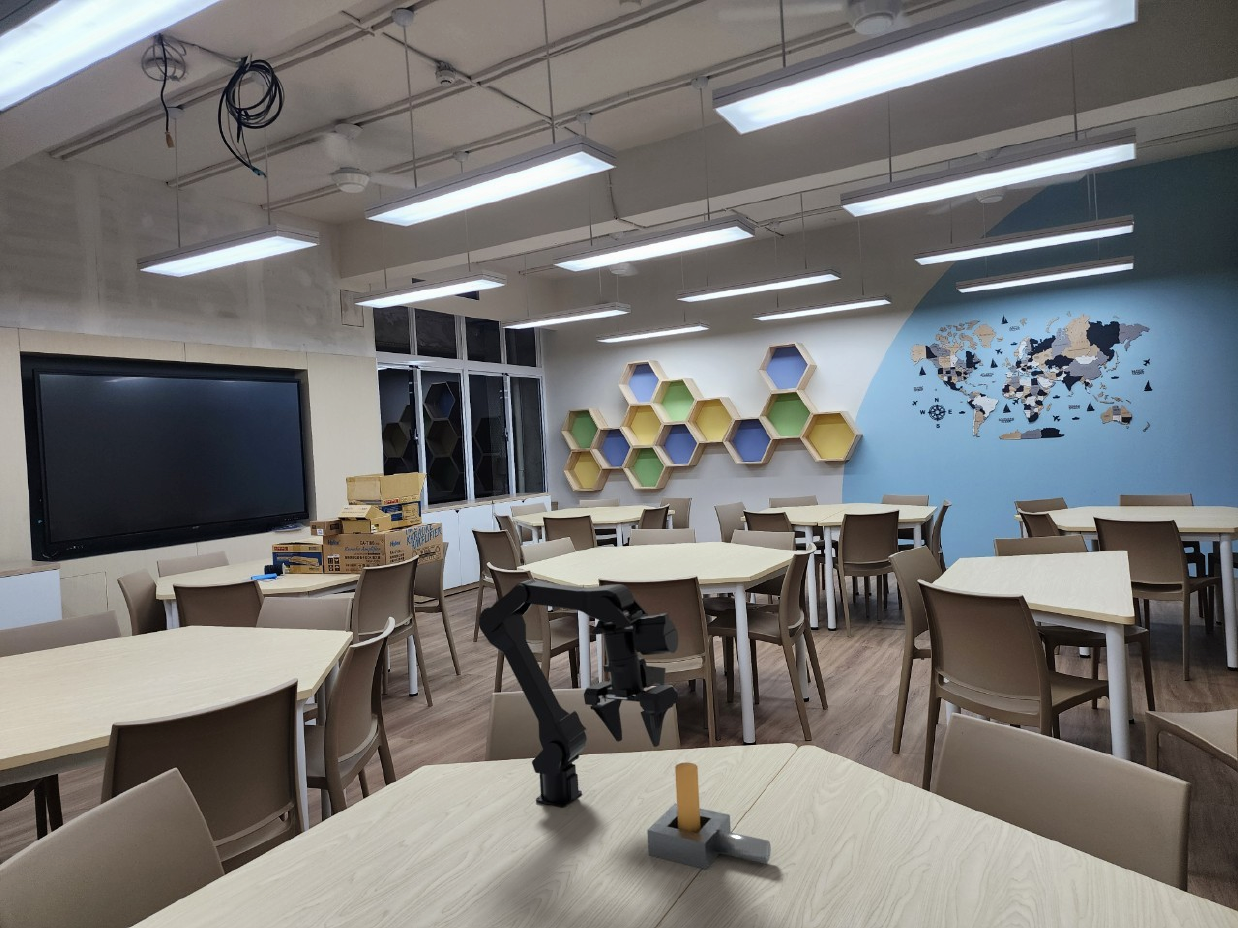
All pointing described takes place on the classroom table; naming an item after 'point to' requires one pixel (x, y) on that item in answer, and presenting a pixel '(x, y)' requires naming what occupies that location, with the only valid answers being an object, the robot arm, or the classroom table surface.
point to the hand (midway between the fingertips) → (637, 743)
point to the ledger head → (702, 840)
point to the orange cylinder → (687, 797)
